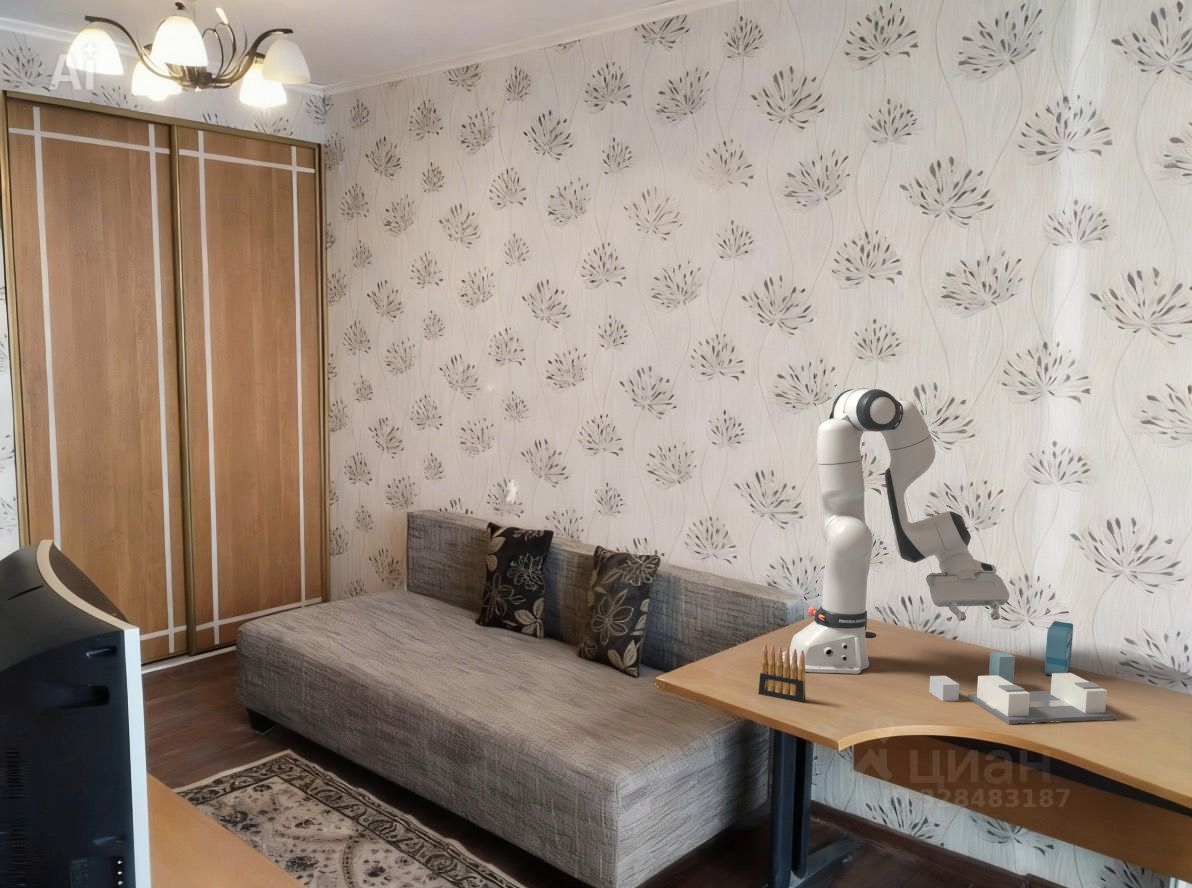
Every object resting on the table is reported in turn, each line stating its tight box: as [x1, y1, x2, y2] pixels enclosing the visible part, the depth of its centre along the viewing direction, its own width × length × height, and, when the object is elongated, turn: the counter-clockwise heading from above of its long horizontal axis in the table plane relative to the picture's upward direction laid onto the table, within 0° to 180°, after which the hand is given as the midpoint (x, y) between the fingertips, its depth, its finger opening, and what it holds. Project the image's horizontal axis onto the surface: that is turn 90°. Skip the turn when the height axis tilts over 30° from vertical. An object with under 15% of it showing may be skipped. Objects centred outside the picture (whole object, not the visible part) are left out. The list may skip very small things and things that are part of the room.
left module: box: [976, 675, 1030, 716], centre depth 210 cm, size 5×12×5 cm, turn 10°
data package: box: [1044, 620, 1074, 676], centre depth 238 cm, size 12×4×12 cm, turn 146°
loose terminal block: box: [928, 675, 960, 702], centre depth 218 cm, size 4×6×4 cm, turn 10°
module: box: [988, 651, 1016, 684], centre depth 226 cm, size 4×4×8 cm
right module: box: [1050, 672, 1108, 713], centre depth 213 cm, size 5×12×5 cm, turn 9°
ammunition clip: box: [757, 643, 806, 703], centre depth 214 cm, size 11×2×12 cm, turn 62°
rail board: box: [967, 690, 1116, 725], centre depth 212 cm, size 26×16×1 cm, turn 100°
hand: (979, 619), depth 236 cm, fingers open, 8 cm apart
